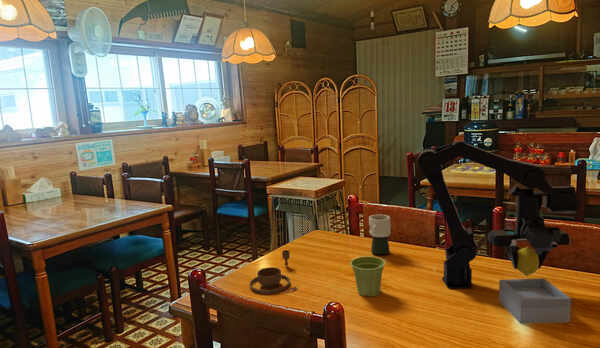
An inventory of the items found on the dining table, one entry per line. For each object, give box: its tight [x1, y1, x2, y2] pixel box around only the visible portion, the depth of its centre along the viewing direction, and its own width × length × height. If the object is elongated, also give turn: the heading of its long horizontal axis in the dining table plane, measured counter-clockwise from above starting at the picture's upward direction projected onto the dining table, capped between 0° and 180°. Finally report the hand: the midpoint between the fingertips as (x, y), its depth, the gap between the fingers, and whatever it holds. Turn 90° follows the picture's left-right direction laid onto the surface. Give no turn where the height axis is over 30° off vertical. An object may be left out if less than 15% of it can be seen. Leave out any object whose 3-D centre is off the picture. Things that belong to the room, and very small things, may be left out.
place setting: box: [249, 249, 297, 295], centre depth 123 cm, size 18×20×6 cm
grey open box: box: [498, 277, 572, 325], centre depth 98 cm, size 11×11×6 cm
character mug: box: [368, 214, 391, 255], centre depth 141 cm, size 11×7×13 cm, turn 148°
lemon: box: [516, 246, 539, 277], centre depth 108 cm, size 6×6×8 cm
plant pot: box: [350, 255, 386, 297], centre depth 112 cm, size 9×9×9 cm
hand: (526, 268), depth 109 cm, fingers closed on lemon, 5 cm apart
